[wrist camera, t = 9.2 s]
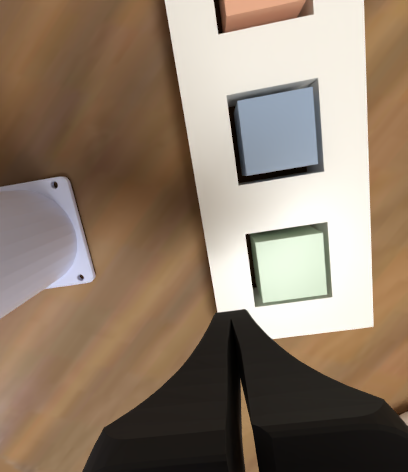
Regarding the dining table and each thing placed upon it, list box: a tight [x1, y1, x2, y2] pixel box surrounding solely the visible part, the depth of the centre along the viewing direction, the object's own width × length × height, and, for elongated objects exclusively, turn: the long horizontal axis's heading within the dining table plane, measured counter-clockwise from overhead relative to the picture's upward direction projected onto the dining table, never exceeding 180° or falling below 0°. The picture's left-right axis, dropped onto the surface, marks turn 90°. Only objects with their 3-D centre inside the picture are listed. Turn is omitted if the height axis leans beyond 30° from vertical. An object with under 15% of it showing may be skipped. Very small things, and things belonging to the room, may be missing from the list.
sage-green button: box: [250, 225, 327, 303], centre depth 18 cm, size 4×4×3 cm
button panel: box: [165, 0, 373, 339], centre depth 17 cm, size 10×26×3 cm, turn 9°
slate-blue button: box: [234, 87, 318, 176], centre depth 16 cm, size 4×4×3 cm
